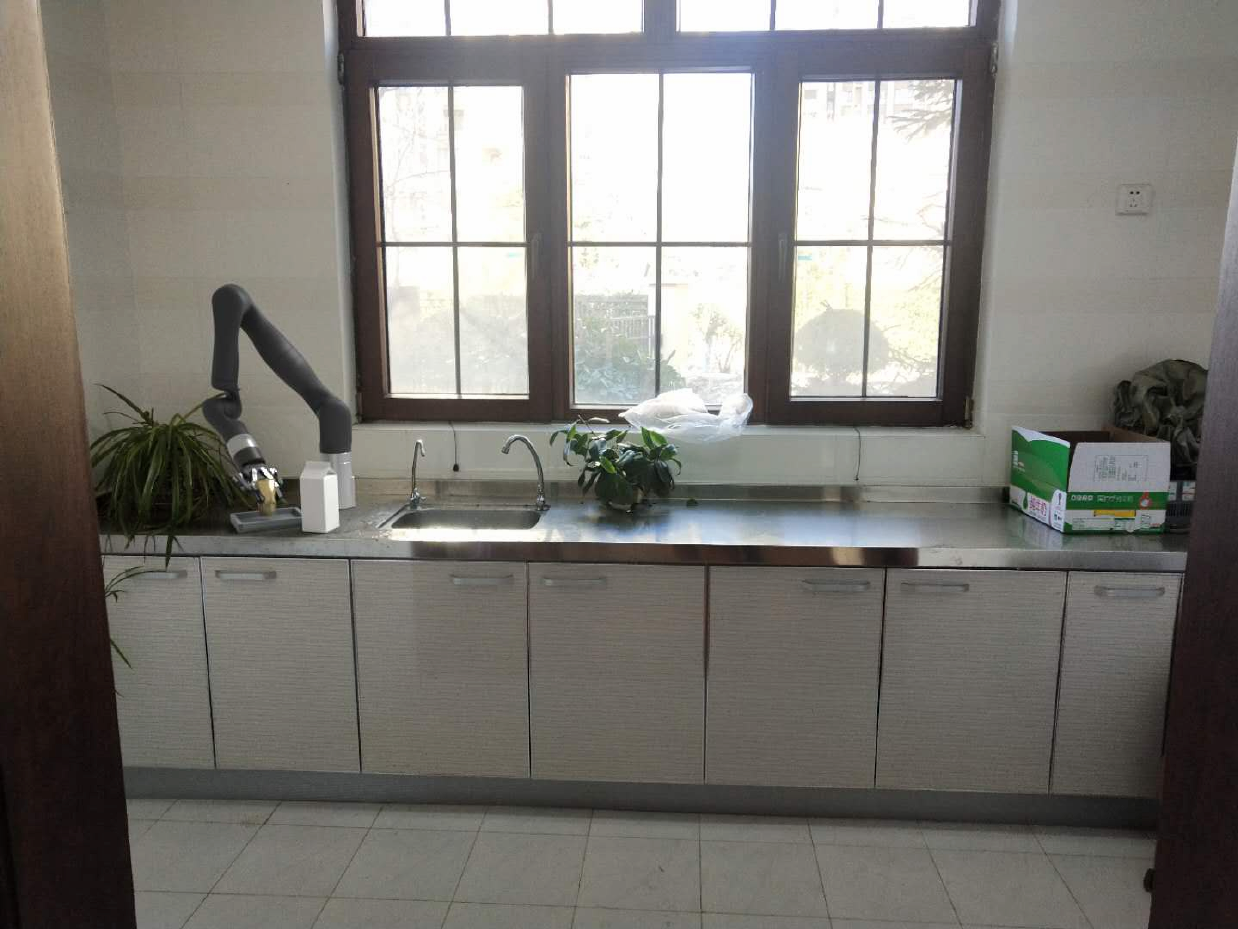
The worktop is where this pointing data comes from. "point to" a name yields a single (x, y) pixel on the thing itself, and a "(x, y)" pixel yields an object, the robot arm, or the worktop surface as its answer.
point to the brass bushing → (267, 496)
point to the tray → (266, 520)
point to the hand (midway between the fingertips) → (270, 501)
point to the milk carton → (319, 497)
